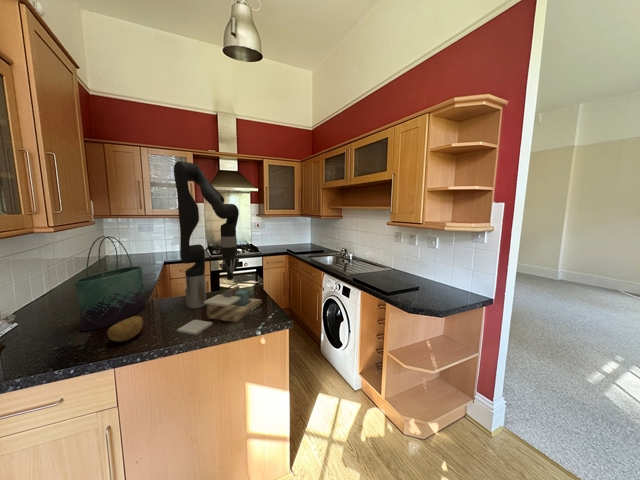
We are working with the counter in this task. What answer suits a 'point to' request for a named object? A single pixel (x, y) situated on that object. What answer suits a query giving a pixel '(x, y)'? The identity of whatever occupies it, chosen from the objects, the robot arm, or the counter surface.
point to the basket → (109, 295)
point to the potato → (125, 329)
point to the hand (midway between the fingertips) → (230, 279)
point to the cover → (223, 299)
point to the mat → (194, 327)
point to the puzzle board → (232, 309)
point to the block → (242, 298)
